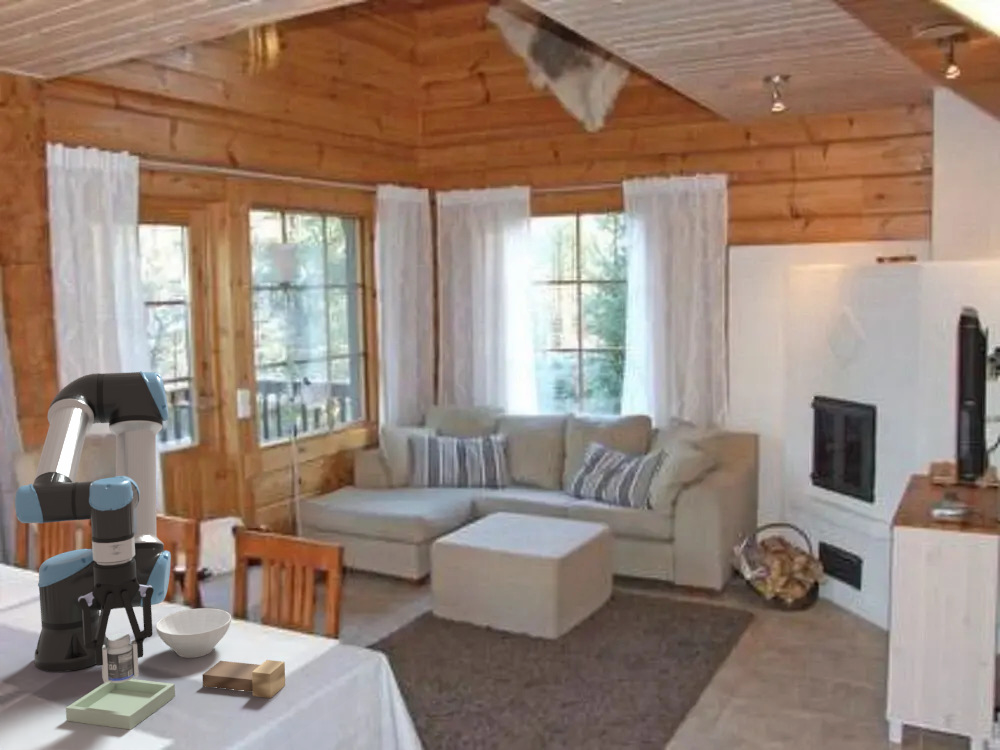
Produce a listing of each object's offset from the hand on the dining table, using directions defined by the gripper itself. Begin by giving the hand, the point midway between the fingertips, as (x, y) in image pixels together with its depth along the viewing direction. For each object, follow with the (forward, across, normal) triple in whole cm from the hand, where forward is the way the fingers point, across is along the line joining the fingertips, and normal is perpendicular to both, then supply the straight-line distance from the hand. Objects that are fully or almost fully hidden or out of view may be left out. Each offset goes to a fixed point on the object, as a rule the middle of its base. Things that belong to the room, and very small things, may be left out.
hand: (120, 676), depth 180 cm
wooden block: (+7, +27, -7) cm, 29 cm away
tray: (+7, 0, 0) cm, 7 cm away
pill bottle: (+1, 0, 0) cm, 1 cm away
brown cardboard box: (+7, +22, 0) cm, 24 cm away
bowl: (+7, +18, +21) cm, 29 cm away
